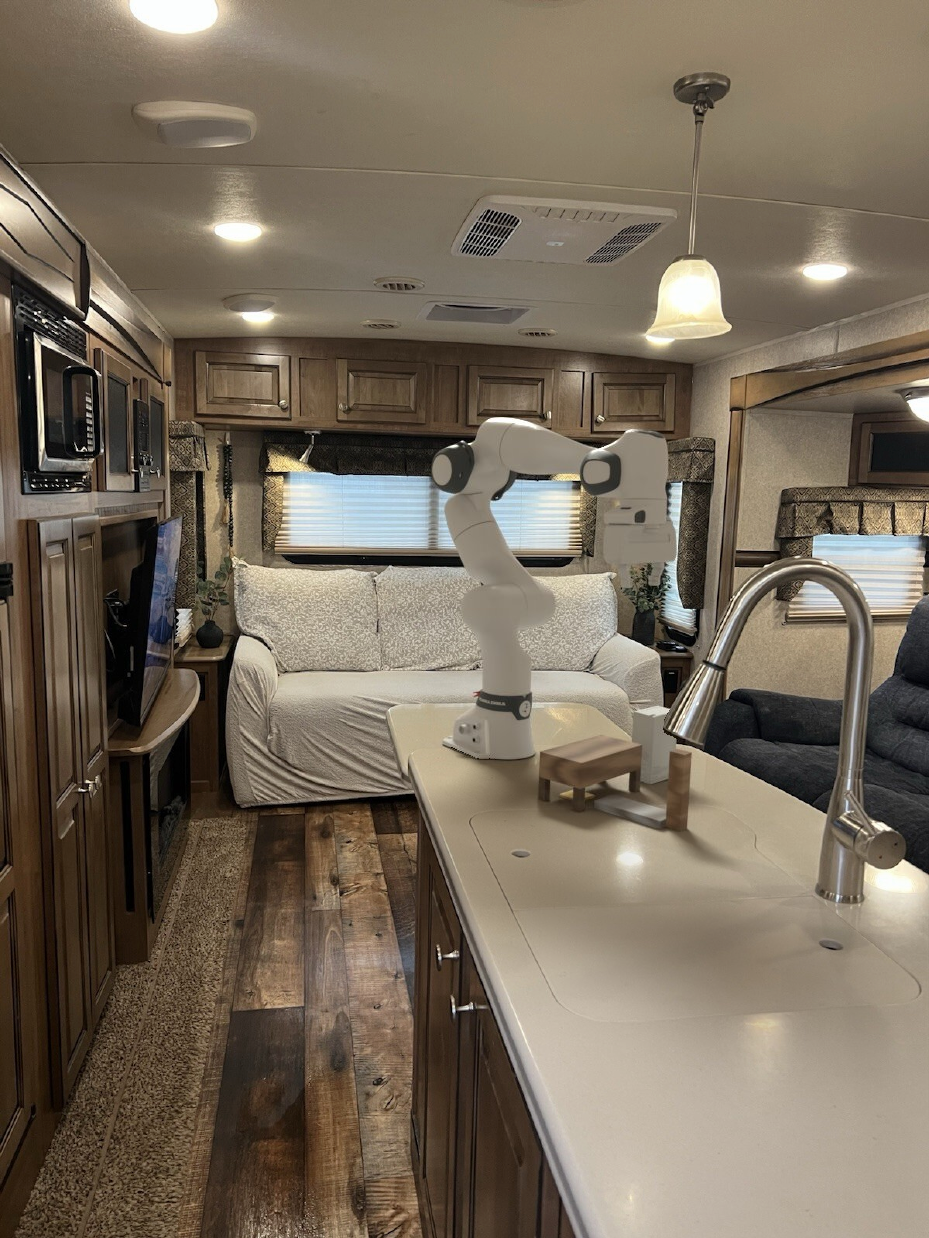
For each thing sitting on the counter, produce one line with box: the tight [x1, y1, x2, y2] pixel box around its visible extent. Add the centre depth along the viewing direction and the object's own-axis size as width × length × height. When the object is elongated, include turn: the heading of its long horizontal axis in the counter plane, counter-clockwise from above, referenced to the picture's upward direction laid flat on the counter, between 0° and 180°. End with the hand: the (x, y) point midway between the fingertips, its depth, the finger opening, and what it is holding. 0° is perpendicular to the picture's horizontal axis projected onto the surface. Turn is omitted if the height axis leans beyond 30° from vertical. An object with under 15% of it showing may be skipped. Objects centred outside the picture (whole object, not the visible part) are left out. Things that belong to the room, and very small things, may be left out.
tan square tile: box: [558, 789, 595, 802], centre depth 180 cm, size 5×5×1 cm
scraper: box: [593, 748, 693, 832], centre depth 169 cm, size 18×6×14 cm, turn 45°
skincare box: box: [631, 705, 677, 785], centre depth 193 cm, size 8×6×15 cm
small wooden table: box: [537, 734, 642, 813], centre depth 181 cm, size 10×20×10 cm, turn 135°
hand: (640, 586), depth 178 cm, fingers open, 8 cm apart
